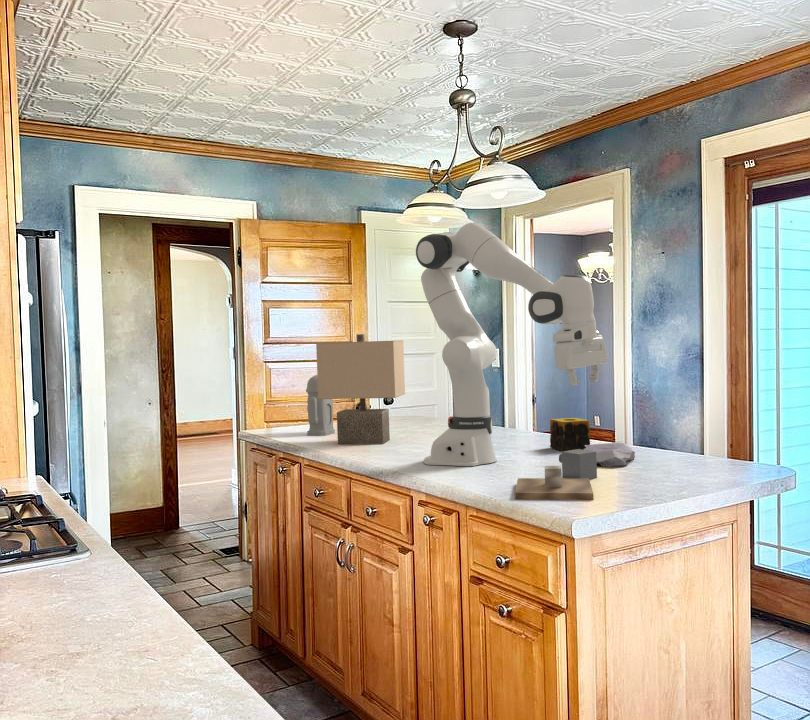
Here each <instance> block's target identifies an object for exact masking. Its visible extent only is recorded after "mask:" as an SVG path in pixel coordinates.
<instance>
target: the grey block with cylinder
mask: <svg viewBox="0 0 810 720" xmlns="http://www.w3.org/2000/svg"><path fill="white" fill-rule="evenodd" d="M558 462H559V463H561V471H562V478H589V480H593V479H597V478H598V471H597V470H598V467H597V459H596V451H588V450H581V449H576V450H569V451H561V453H560V454H559V456H558Z"/></svg>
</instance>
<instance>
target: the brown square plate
mask: <svg viewBox="0 0 810 720" xmlns="http://www.w3.org/2000/svg"><path fill="white" fill-rule="evenodd" d="M590 480H591V479H589V478H562V465H544V477H543V478H541V477H540V478H539V477H537V478H536V477H535V478H534V477H532V478H531V477H530V478H529V477H527V478H525V477H523V478H522V477H521V478H520V477H519V478H517V482H516V485H515V492H514V500H564V499H572V500H573V499H574V500H573V501H575V499H576V500H580V501H583V500H584V501H585V500H586V501H587V500H588V501H591V500H594V499H595V498H594V491H593V490H594V489H593V487H592V484H591V481H590Z"/></svg>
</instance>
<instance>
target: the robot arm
mask: <svg viewBox="0 0 810 720" xmlns="http://www.w3.org/2000/svg"><path fill="white" fill-rule="evenodd" d="M415 257H416V259H417V261H418V263H419V264H420V265H421V266H422V267H424V268H425V269H424V270H423V272H422V273H421V276H420V281H421V282H420V283H421V286H422V290H423V292H424V295H425V298H426V302H427V303H428V306H429V308H430V310H431V313H432V314H433V315H432V316H433V318H434V320H435V322H436V324H437V326H438V328H439V329H440V331H442V332H443V333H444V334H445V336H447V338H448V340H449V341H448V342H446V343H445V345H444V346H443V348H442V351H441V353H442V354H441V355H442V357H441V358H442V361H443V364H444V365H445V366H446V368H447V372H448V375H449V378H450V383H451V385H452V394H453V409H454V410H453V414H454V415H451V416H449V417H448V418H447V427H448V429H446V430H445V431H444V432H443V433H441V434H440V435H439V436H438V437H437V438H436V439H434V440H433V442H432V445H431V449H430V455H427V456H425V458H424V459H423V463H424V464H425V465H427V466H428V465H429V466H430V465H432V466H453V467H454V466H458V467H459V466H460V467H476V466H478V465H486V464H492V463H495V462H496V461H497V457H496V453H495V450H494V445H493V439H492V433H493V419H492V415H491V408H490V406H491V405H490V390H489V387H488V386H487V383H486V380H485V376H484V371H483V370H485V369H487V368H488V367H489V366H491V365H492V364H493V363H494V361H495V360H496V358H497V348H496V344H495V343H494V342H493V341H492V340H491V339H490V338H489V337H488V335H487V333H485V331H484V330H483V328H482V326H481V325H480V323H479V322H478V321H477V319H476V318H475V316H474V314H473V313H472V311H471V309H470V307H469V305H468V303H467V300H466V298H465V296H464V294H463V291H462V289H461V287H460V285H459V284H458V281H457V277H456V273H462V272H463V271H464V269H465V268H466V267H467V266H468V265H469V264H470V265H472V267H474V269H476V270H477V271H478V272H479V273H481V274H482V275H484V276H486V277H488V278H489V279H493V280H494V281H495V280H497V281H503V282H507V283H508V282H509V283H511V284H512V283H513V284H515V285H518V286H519V287H522V288H524V289H525V290H527V292H529V293H531V294H532V295H531V296H530V299H529V301H528V306H527V307H528V308H527V309H528V313H529V317H531V319H532V320H533V321H534V322H536V323H538V324H541V325H556V324H560V325H561V324H562V328H560V329H559V330H558V331H557V332H555V333H554V334H553V335H552V341H553V343H555V344H554V346H553V347H554V349H553V350H554V351H553V353H554V362H555V367H556V368H557V370H559V371H565V372H566V375H567V376H568V379H569V384H570V386H571V387H574V386H579V384H580V380H579V378H577V375H576V373H577V371H576V370H577V369H580V368H585V367H590V369H591V373H590V374H591V375H589V381H590V382H598V381H599V373H600V369H601V365H602V364H607V363H608V359H609V358H608V356H609V355H608V350H607V345H606V341H605V339H604V338H603V335H602V333H601V332H600V331H598V330H597V322H596V321H597V320H596V317H595V315H594V308H595V300H594V293H593V292H594V291H593V287H592V283H591V281H590V279H589V277H588V276H586V275H583V274H582V275H581V274H564V275H562V276H560V277H559V279H557V281H556V282H553V281H552V280H550V278H549V277H546V275H544V274H543V273H541V272H540V271H538V270H537V269H536V268H535V267H533V266H532V265H530V264H529V263H528V262H527V261H526V260H524V259H523V258H522V257H521V256H519V255H518V253H516V252H515V251H514V250H513V249H511V247H510V246H508V245H507V244H506V243H505V242H504V241H503V240H502V239H501V238H499V237H498V236H497V235H495V234H494V233H493V232H491V231H490V230H488V229H487V228H486V227H484V226H482V225H480V224H479V223H476V222H468V223H466V224H463V225H462V226H461V227H460V228H459V229H458V231H456V232H455V231H444V232H440V233H431V234H428V235H426V236H424V237H422V238H421V239H420V240H418V242H417V243H416V246H415Z"/></svg>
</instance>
